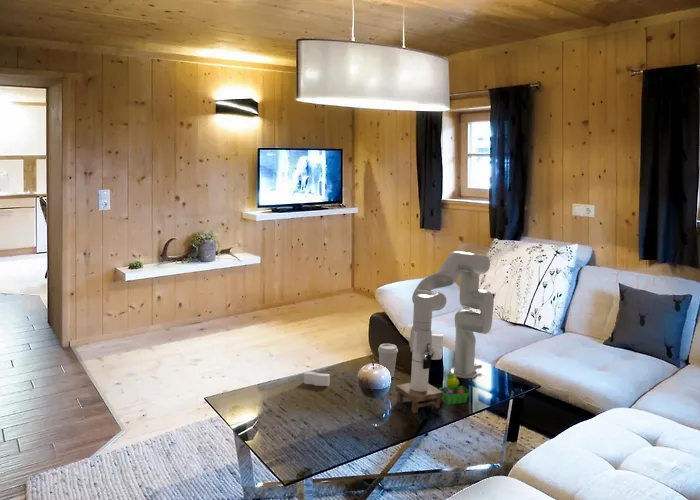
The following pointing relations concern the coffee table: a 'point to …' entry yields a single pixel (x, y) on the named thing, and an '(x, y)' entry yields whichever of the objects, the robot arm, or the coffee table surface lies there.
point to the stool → (419, 396)
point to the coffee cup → (388, 356)
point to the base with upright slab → (437, 346)
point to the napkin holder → (316, 379)
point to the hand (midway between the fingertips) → (420, 364)
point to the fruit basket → (454, 391)
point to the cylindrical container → (418, 369)
